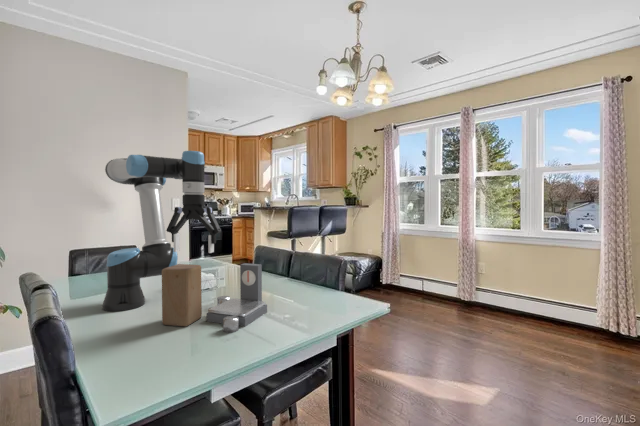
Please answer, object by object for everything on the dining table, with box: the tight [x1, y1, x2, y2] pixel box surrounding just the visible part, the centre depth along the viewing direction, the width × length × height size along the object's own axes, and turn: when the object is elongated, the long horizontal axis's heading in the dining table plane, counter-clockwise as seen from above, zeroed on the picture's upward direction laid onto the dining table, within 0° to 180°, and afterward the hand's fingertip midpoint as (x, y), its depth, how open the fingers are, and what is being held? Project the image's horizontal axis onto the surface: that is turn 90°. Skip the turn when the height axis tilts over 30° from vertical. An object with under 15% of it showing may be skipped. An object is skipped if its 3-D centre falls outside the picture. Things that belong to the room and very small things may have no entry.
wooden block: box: [161, 263, 203, 327], centre depth 118 cm, size 10×10×20 cm
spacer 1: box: [216, 295, 231, 306], centre depth 135 cm, size 5×5×4 cm
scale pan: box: [208, 297, 266, 317], centre depth 124 cm, size 15×15×4 cm
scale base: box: [206, 262, 268, 328], centre depth 125 cm, size 16×19×18 cm
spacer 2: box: [222, 316, 240, 334], centre depth 111 cm, size 5×5×4 cm
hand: (193, 252), depth 121 cm, fingers open, 13 cm apart
